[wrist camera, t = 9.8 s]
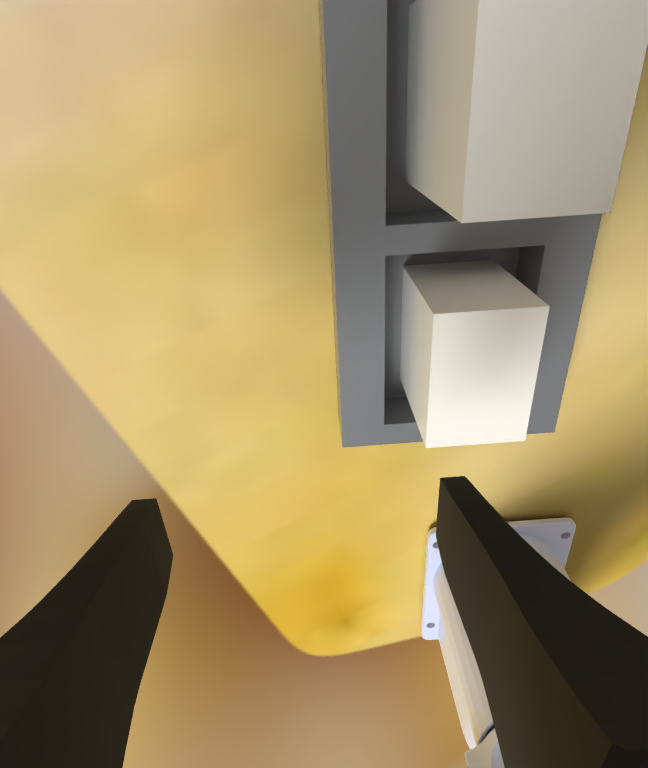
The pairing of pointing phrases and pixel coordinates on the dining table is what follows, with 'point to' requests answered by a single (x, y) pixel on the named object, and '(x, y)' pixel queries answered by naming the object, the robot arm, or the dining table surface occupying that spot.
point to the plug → (521, 104)
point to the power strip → (415, 230)
